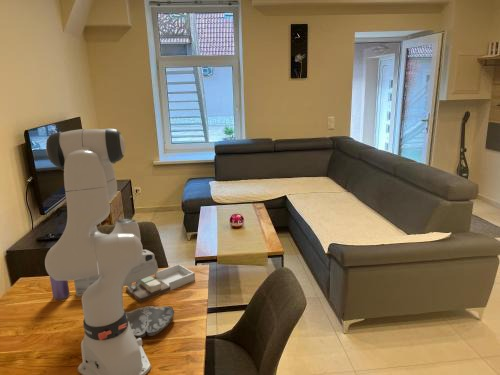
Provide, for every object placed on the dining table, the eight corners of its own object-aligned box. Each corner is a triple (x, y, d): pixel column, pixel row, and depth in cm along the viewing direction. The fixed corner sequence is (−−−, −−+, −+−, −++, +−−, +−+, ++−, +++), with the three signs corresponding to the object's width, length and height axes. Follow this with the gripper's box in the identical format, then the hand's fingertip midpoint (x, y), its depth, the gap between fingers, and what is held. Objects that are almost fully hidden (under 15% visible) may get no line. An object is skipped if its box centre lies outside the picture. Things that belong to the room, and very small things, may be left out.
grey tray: (194, 280, 161) (194, 272, 160) (170, 290, 153) (169, 282, 152) (179, 270, 170) (178, 263, 169) (155, 279, 162) (154, 272, 161)
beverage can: (65, 300, 148) (59, 265, 144) (50, 300, 148) (44, 266, 144) (72, 292, 153) (67, 259, 150) (58, 293, 154) (52, 259, 150)
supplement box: (127, 279, 164) (124, 259, 162) (118, 294, 151) (115, 273, 149) (88, 280, 163) (85, 261, 161) (76, 296, 151) (72, 275, 148)
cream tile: (161, 288, 151) (160, 283, 151) (151, 292, 148) (150, 287, 148) (156, 284, 155) (155, 279, 154) (146, 288, 152) (145, 283, 151)
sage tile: (154, 283, 155) (154, 278, 155) (144, 287, 152) (144, 282, 152) (149, 280, 159) (149, 275, 158) (139, 283, 156) (139, 278, 155)
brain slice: (115, 348, 119) (114, 340, 119) (118, 318, 135) (117, 311, 134) (177, 336, 124) (176, 328, 124) (173, 308, 140) (172, 301, 140)
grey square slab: (170, 290, 153) (170, 286, 153) (140, 302, 145) (140, 298, 144) (155, 279, 162) (154, 276, 162) (126, 290, 154) (126, 286, 154)
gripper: (107, 271, 134) (112, 305, 138) (158, 253, 147) (161, 284, 151) (100, 265, 138) (105, 298, 142) (150, 248, 152) (153, 279, 155)
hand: (134, 291), depth 147 cm, fingers closed
